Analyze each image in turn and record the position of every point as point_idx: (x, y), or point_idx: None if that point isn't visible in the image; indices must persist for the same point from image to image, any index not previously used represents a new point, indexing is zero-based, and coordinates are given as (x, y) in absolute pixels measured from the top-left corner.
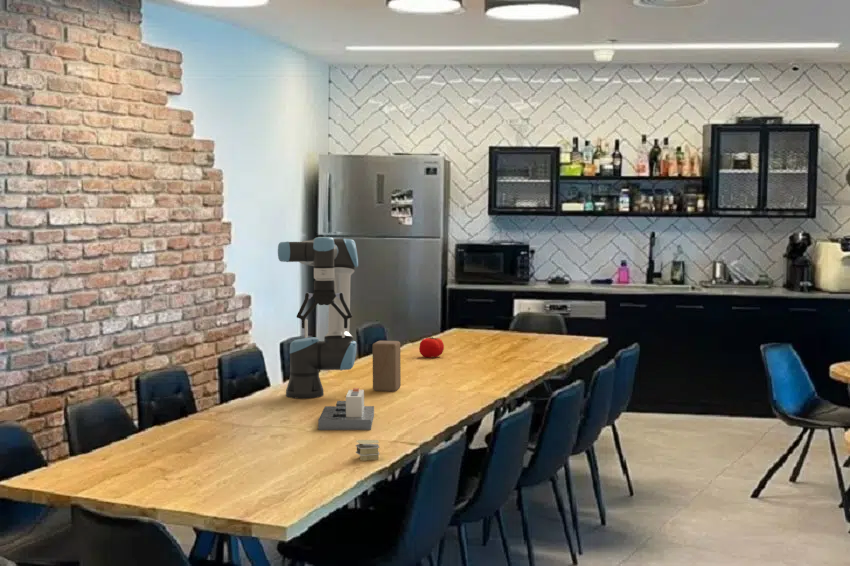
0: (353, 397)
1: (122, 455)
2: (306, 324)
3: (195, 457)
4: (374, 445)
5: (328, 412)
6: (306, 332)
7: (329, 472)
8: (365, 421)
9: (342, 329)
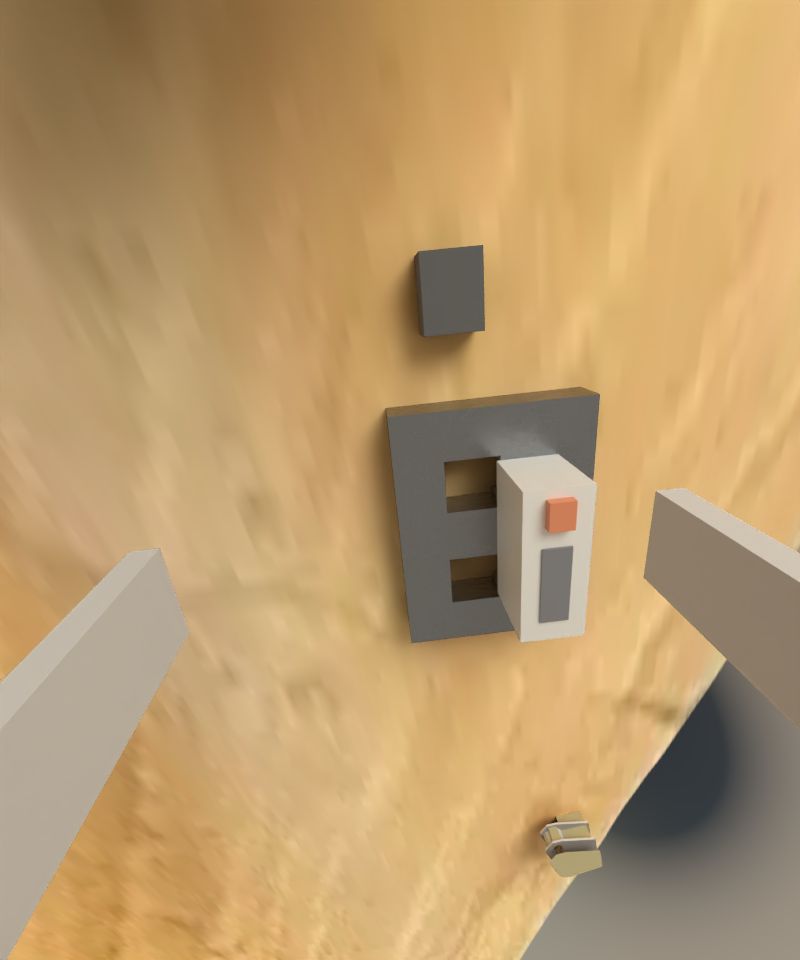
0: (550, 637)
1: None
2: (73, 830)
3: (194, 862)
4: (587, 847)
5: (424, 533)
6: (152, 690)
7: (493, 893)
8: None
9: (733, 656)
